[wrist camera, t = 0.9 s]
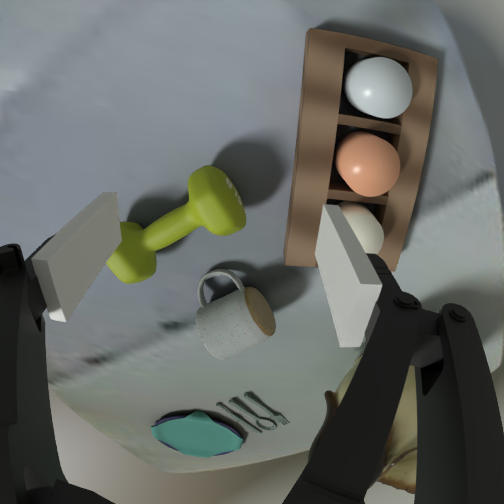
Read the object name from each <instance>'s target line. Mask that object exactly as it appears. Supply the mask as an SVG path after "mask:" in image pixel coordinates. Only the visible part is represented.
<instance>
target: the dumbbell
mask: <svg viewBox="0 0 504 504" xmlns="http://www.w3.org/2000/svg"><path fill="white" fill-rule="evenodd" d="M188 192H189V201H188V202H187V203H186V204H185V205H183V206H181V207H178V208H176V209H174V210H173V211H171V212H169V213H167V214H165V215H164V216H162V217H161V218H159V219H158V220H156V221H155V222H153V223H152V224H150V225H149V226H148V227H147V228H145V229H144V230H143V228H142V227H141V226H140V225H139V224H137V223H134V222H120V230H121V238H122V242H121V243H120V244H119V246H118V247H117V248H116V250H115V251H114V252H113V254H112V255H111V257H110V258H109V259H108V261H107V262H106V264H107V265H108V266H109V268H110V269H111V270H112V271H113V273H114V274H115V275H116V276H117V277H118V278H119V279H120V280H121V281H122V282H124V283H127V284H131V283H137V282H140V281H143V280H145V279H147V278H149V277H151V276H152V275H153V274H154V273H155V271H156V251H157V250H159V249H162V248H164V247H166V246H168V245H170V244H172V243H174V242H176V241H177V240H179V239H181V238H183V237H184V236H186V235H188V234H189V233H191V232H192V231H193V230H195V229H196V228H198V227H200V226H204V227H205V228H207V229H208V230H209V231H210V232H212V233H213V234H216V235H220V236H225V235H230V234H233V233H235V232H237V231H239V230H241V229H242V228H244V226H245V225H246V214H245V210H244V206H243V203H242V200H241V197H240V195H239V193H238V191H237V190H236V188H235V186H234V185H233V183H232V182H231V180H230V179H229V177H228V176H227V175H226V174H225V173H224V172H223V171H222V170H220V169H218V168H216V167H214V166H210V165H206V166H203V167H202V168H200V169H198V170H196V171H195V172H194V173H192V174H191V175H190V177H189V179H188Z"/></svg>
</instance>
